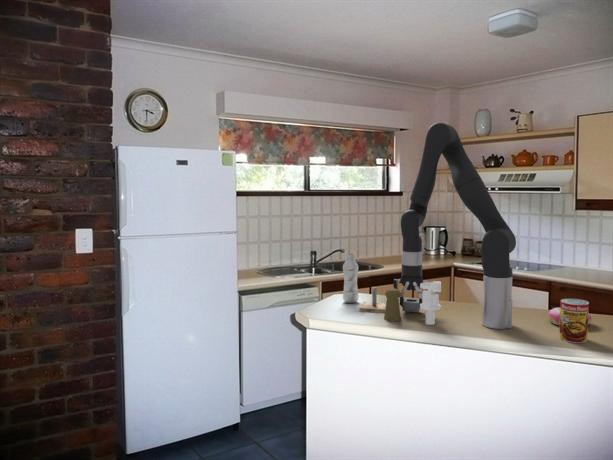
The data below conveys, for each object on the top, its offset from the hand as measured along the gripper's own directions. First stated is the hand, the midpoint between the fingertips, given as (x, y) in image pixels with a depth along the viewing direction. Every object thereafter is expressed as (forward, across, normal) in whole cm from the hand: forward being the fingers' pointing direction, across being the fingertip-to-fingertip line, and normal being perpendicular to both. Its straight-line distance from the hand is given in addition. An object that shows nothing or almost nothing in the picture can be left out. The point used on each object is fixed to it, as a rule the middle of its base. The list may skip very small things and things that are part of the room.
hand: (411, 307), depth 200 cm
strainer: (+2, -8, +13) cm, 16 cm away
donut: (+2, -54, +1) cm, 54 cm away
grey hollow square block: (+1, 0, 0) cm, 1 cm away
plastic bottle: (+2, +25, -11) cm, 28 cm away
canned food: (+2, -52, +20) cm, 56 cm away
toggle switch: (+2, +14, -3) cm, 15 cm away
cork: (+2, +6, +10) cm, 12 cm away
